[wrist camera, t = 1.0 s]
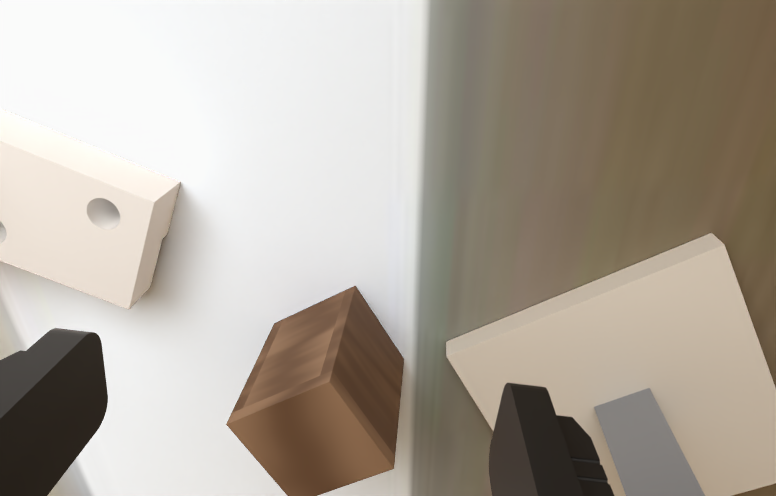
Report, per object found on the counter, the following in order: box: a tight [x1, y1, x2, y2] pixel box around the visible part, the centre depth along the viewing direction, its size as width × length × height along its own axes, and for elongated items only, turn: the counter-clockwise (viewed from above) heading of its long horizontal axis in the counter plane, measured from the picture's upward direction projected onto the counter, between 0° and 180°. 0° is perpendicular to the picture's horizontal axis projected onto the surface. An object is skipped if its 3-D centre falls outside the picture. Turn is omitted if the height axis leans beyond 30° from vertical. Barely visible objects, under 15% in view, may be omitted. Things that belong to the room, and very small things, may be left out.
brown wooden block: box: [226, 286, 404, 496], centre depth 31 cm, size 6×6×9 cm
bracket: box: [0, 108, 181, 309], centre depth 29 cm, size 13×7×8 cm, turn 67°
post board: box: [446, 233, 776, 496], centre depth 30 cm, size 16×18×11 cm
